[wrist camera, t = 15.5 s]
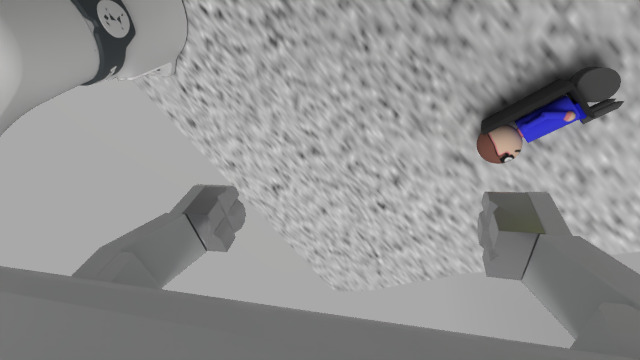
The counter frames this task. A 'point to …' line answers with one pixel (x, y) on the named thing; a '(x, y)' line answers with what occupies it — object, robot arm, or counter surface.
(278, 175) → the counter surface
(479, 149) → the character figurine
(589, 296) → the robot arm
